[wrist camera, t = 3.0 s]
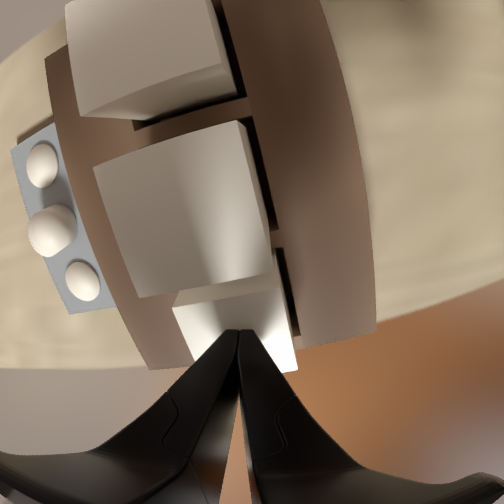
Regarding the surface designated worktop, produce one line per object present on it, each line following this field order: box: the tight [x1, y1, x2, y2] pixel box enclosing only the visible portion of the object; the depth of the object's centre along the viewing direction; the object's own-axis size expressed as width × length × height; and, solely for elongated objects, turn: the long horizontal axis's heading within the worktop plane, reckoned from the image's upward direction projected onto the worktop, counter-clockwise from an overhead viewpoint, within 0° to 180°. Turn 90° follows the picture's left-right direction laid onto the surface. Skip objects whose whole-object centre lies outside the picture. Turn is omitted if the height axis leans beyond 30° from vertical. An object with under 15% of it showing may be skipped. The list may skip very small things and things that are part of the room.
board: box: [45, 0, 376, 370], centre depth 11 cm, size 10×14×4 cm
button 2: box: [172, 248, 298, 373], centre depth 11 cm, size 3×3×5 cm
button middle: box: [93, 120, 273, 298], centre depth 8 cm, size 3×3×5 cm
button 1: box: [64, 0, 238, 121], centre depth 7 cm, size 3×3×5 cm
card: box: [10, 122, 117, 314], centre depth 13 cm, size 4×10×2 cm, turn 14°
